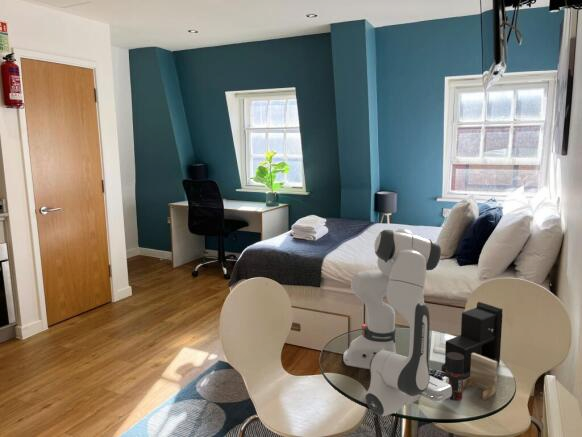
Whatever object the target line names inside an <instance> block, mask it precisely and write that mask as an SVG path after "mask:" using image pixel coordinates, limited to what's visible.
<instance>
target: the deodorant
mask: <svg viewBox="0 0 582 437" xmlns="http://www.w3.org/2000/svg"><path fill="white" fill-rule="evenodd" d="M463 373H464V356H463V355H462V354H460V353H456V352H449V353H447V354H446V371H445V377H447V378H449V383H448V384H450V385H451V387H452V395H451V397H449V398H450V399H449V398H448V399H449V400H452V401H460V400H462V399H463V390H464V389H463Z"/></svg>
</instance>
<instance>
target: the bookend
mask: <svg viewBox="0 0 582 437" xmlns="http://www.w3.org/2000/svg"><path fill="white" fill-rule="evenodd" d="M503 310H504V309H503V308H501V307H500V308H499V307H496V306H494V305H491V304H487V303H484V302H481V301H478V302H477V303H476V307H474V308H471V309H469V310H466V311H463V312H461V324H460V327H461V328H460V329H461V330H460V335H458V336H454V337H453V338H450V339H448V340H446V341H445V349H444V351H445V352H444V353H445V358H444V363H443V364H442V365H441V370H442V369H443V370H442V371H444V370H445V372H446V354H447V353H449V352H456V353H460V354H462V355H463V356H464V373H463V380H465V379H466V378H468V377H470V369H471V354H472V353H476V354H479V355H481V356H484V357H487V358H489V359H492V360H494V361H497V362H498V364H497V365H499V364H500V362H501V348H502V347H501V345H502V332H503V331H502V327H503Z"/></svg>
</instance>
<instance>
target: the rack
mask: <svg viewBox="0 0 582 437" xmlns="http://www.w3.org/2000/svg"><path fill="white" fill-rule="evenodd" d="M498 365H499V364H498V362H497V361H494V360H492V359H489V358H487V357H484V356H481V355H479V354H476V353H472V354H471V369H470V377H468V378H466V379H465V380H463V390H465V389H466V387H467V388H468V387H470V386H473V387H476V388H479V389H480V390H483V391H482V401H486V400H488V399H489V398H491V397H492V396H493V395H495V394H496V392H497V391H496V390H497V381H498V380H497V379H498ZM464 388H465V389H464Z"/></svg>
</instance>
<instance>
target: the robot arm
mask: <svg viewBox="0 0 582 437" xmlns="http://www.w3.org/2000/svg"><path fill="white" fill-rule="evenodd" d="M374 253H375V255H376V256H377V262H376V263H377V267H378V268H377V269H366V270H362V271H359V272H356V273H353V276H352V277H351V280H350V288H351V291H352V294H354V295H355V296H356V297H357V298H359V299H360V300H361V302H363V304H364V306H365V308H366V317H367V325H366V324H365V323H363V324H362V325H361V329H362V330H361V331H362V332H361V333H362V334H361V335H359V336H358V337H356V338H355V339H352V341H351V342H350V344H349V347H348V348H347V349H346V350H345V351H344V353H343V356H342V357H343V358H342V359H343V362H344V364H345V365H346V366H348V367H354V368H360V369H366V370H369V373H370V384H369V387H368V389H367V391H366V394H365V402H366V405H367V407H368V408H369V409H370V411H371V412H372V413H374V414H375V415H377V416H380V417H384V416H385V417H386V416H389V415H392V414H394V413H396V412H398V411H400V410H402V409H403V408H404V406H405V407H406V406H409V405H411V404H413V403H415V402H416V401H418V400H420V399H421V397H425V398H426V399H429V400H430V401H433V402H442V401H445V400H447V399H449V397H451V395H452V387H451V385H450V384H448V383H449V378H447V377H445V376H442V377H441V379H439V378H436V377H435V376H432V375H430V367H429V351H430V349H429V347H430V346H429V345H430V325H431V324H430V311H429V308H428V306H427V305H426V304H425V300H424V299H425V298H424V290H425V285H426V277H427V271H433V270H434V269H436V268H437V266H438V264H439V262H440V260H441V256H442V255H441V254H442V248H441V246H440V244H439V243H438V242H436V241H434V240H433V239H427V238H425V237H422V236H419V235H416V234H414V233H413V231H411V230H408V229H406V228H399V229H397V230H393V229H383V230H382V231H380V232H379V234H378V235H377V236H376V238H375V241H374ZM384 297H386V300H387V302H388V303H386V302H384V301H383V299H384ZM396 313H398V314H399V315H401V316H402V317H403V318H404V319H405V320H406V322H407V323H408V326H409V344H408V346H409V347H408V348H409V349H408V356H405V355H403V354H402V355H401V354H399V353H398V352H397V349H396V342H397V329H396Z"/></svg>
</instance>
